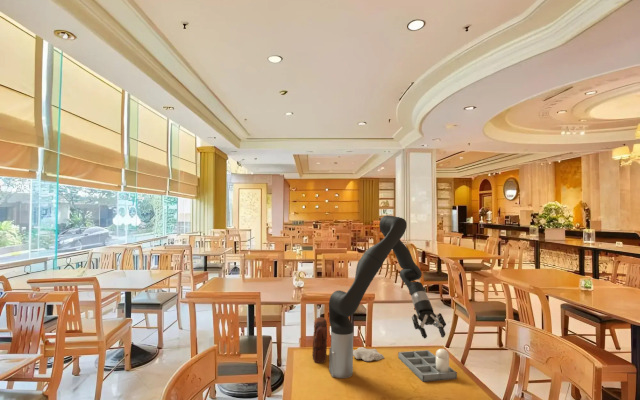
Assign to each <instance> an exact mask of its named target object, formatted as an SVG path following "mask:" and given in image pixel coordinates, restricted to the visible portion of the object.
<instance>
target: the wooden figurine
mask: <svg viewBox="0 0 640 400" xmlns="http://www.w3.org/2000/svg"><path fill="white" fill-rule="evenodd" d="M313 323H314V324H313V335H312V336H313V337H312V360H313V362H314V363H316V364H317V363H324V362H326V360H327V349H328V348H327V347H328V344H327V343H328V341H327V340H328V324H327V320H326V318H325V317H321V316H320V317H316V318H315V320H314V322H313Z"/></svg>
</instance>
